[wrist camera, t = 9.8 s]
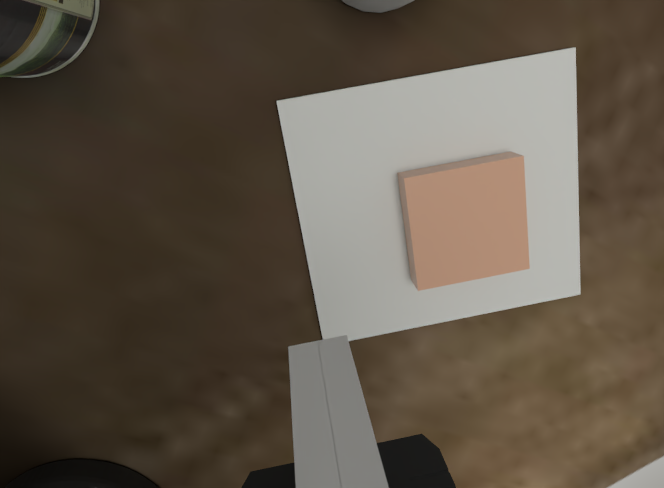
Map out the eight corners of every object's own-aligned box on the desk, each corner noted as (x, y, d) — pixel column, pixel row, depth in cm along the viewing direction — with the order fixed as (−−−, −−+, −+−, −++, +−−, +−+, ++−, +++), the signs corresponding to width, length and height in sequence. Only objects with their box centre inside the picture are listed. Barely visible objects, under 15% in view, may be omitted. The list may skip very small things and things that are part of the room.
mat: (323, 342, 41) (323, 345, 40) (276, 100, 35) (276, 101, 34) (576, 291, 42) (580, 294, 41) (570, 47, 36) (575, 47, 35)
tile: (418, 290, 37) (529, 268, 37) (403, 178, 35) (523, 155, 35) (410, 279, 39) (516, 258, 40) (396, 172, 37) (509, 150, 37)
